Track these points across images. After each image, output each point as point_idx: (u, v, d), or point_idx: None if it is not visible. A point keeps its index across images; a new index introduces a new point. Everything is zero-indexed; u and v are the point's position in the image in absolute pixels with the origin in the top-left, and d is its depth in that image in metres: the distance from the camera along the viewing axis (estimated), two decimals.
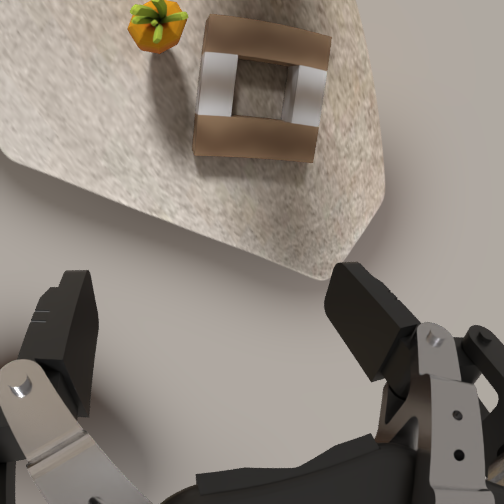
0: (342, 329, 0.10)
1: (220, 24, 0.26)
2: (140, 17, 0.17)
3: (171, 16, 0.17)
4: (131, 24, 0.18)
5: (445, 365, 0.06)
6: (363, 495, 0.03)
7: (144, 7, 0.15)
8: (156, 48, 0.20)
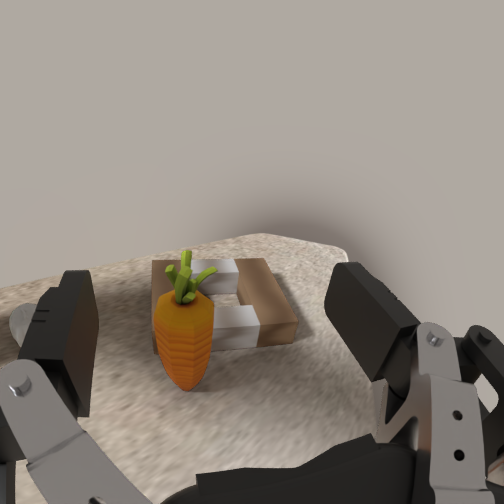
0: (342, 329, 0.10)
1: None
2: (186, 294, 0.21)
3: (186, 265, 0.23)
4: (190, 322, 0.22)
5: (445, 365, 0.06)
6: (363, 495, 0.03)
7: None
8: (213, 307, 0.24)
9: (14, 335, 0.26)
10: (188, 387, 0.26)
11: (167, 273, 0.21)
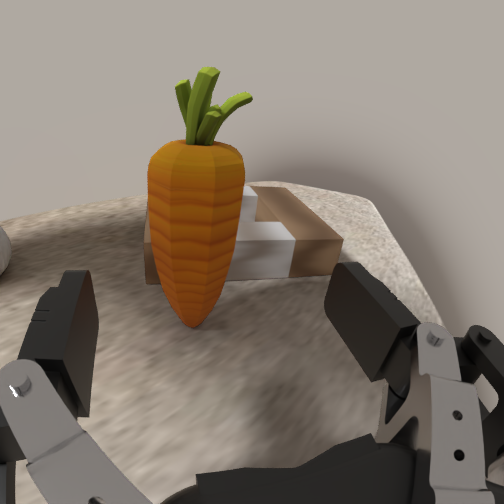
0: (342, 329, 0.10)
1: None
2: None
3: None
4: (209, 160, 0.13)
5: (444, 365, 0.06)
6: (363, 495, 0.03)
7: None
8: None
9: None
10: (196, 314, 0.18)
11: (178, 89, 0.12)
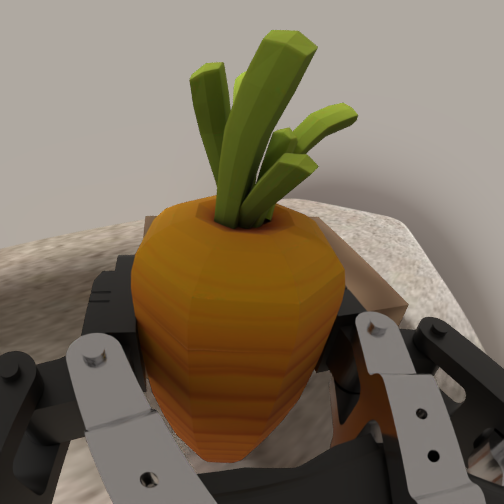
0: None
1: None
2: (276, 163, 0.05)
3: None
4: (284, 285, 0.05)
5: (394, 356, 0.06)
6: None
7: None
8: None
9: None
10: (229, 462, 0.10)
11: (197, 86, 0.05)
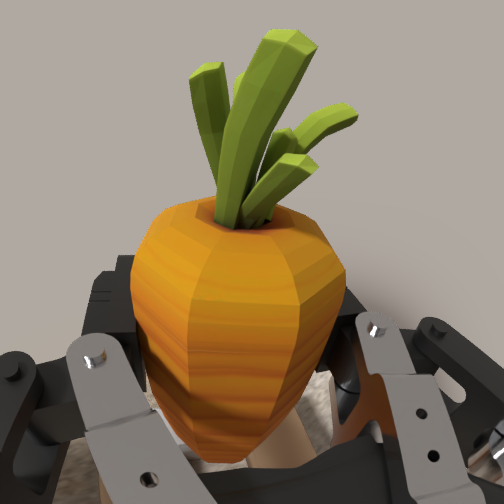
0: None
1: None
2: (276, 163, 0.05)
3: None
4: (285, 286, 0.05)
5: (393, 356, 0.06)
6: None
7: None
8: None
9: None
10: (230, 462, 0.10)
11: (197, 86, 0.05)
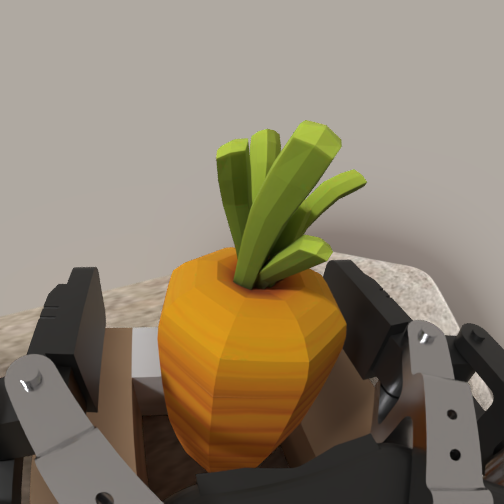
0: None
1: None
2: (294, 244, 0.06)
3: (269, 167, 0.07)
4: (297, 347, 0.06)
5: (437, 363, 0.06)
6: (359, 498, 0.03)
7: None
8: None
9: None
10: None
11: (223, 165, 0.06)
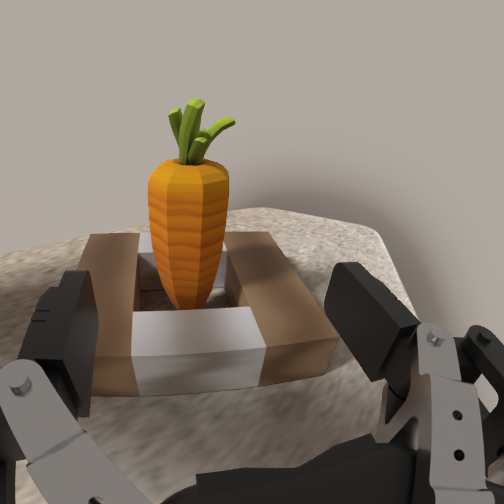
0: (342, 329, 0.10)
1: None
2: None
3: None
4: (198, 178, 0.16)
5: (445, 365, 0.06)
6: (363, 495, 0.03)
7: None
8: None
9: None
10: (191, 307, 0.20)
11: (171, 117, 0.15)
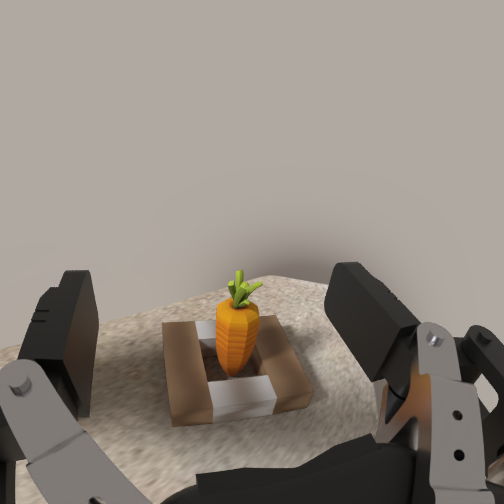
0: (342, 329, 0.10)
1: (179, 401, 0.29)
2: (243, 301, 0.31)
3: (240, 281, 0.33)
4: (245, 320, 0.31)
5: (445, 364, 0.06)
6: (363, 495, 0.03)
7: (240, 285, 0.31)
8: None
9: None
10: (235, 372, 0.36)
11: (229, 287, 0.31)
